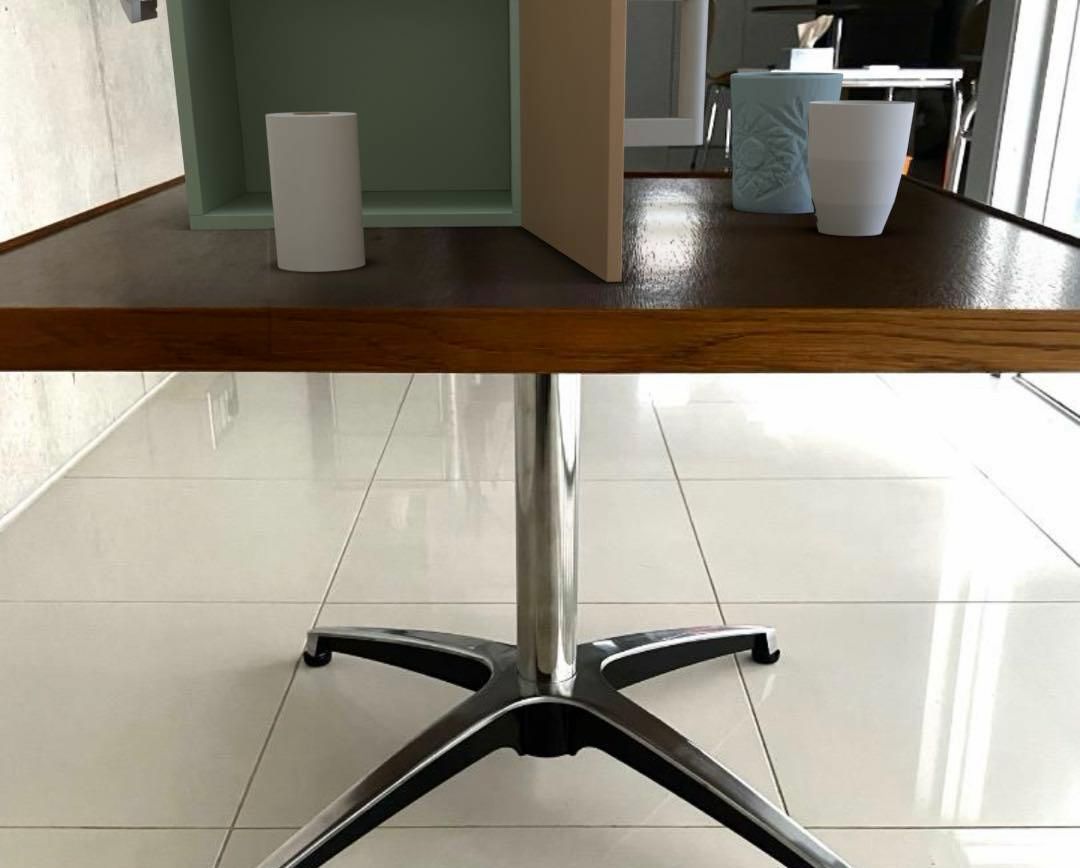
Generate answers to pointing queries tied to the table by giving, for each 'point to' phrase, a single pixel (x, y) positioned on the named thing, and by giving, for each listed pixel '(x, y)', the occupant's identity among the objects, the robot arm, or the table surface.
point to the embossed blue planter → (775, 138)
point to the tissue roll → (316, 190)
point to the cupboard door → (591, 121)
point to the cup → (856, 162)
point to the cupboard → (353, 103)
